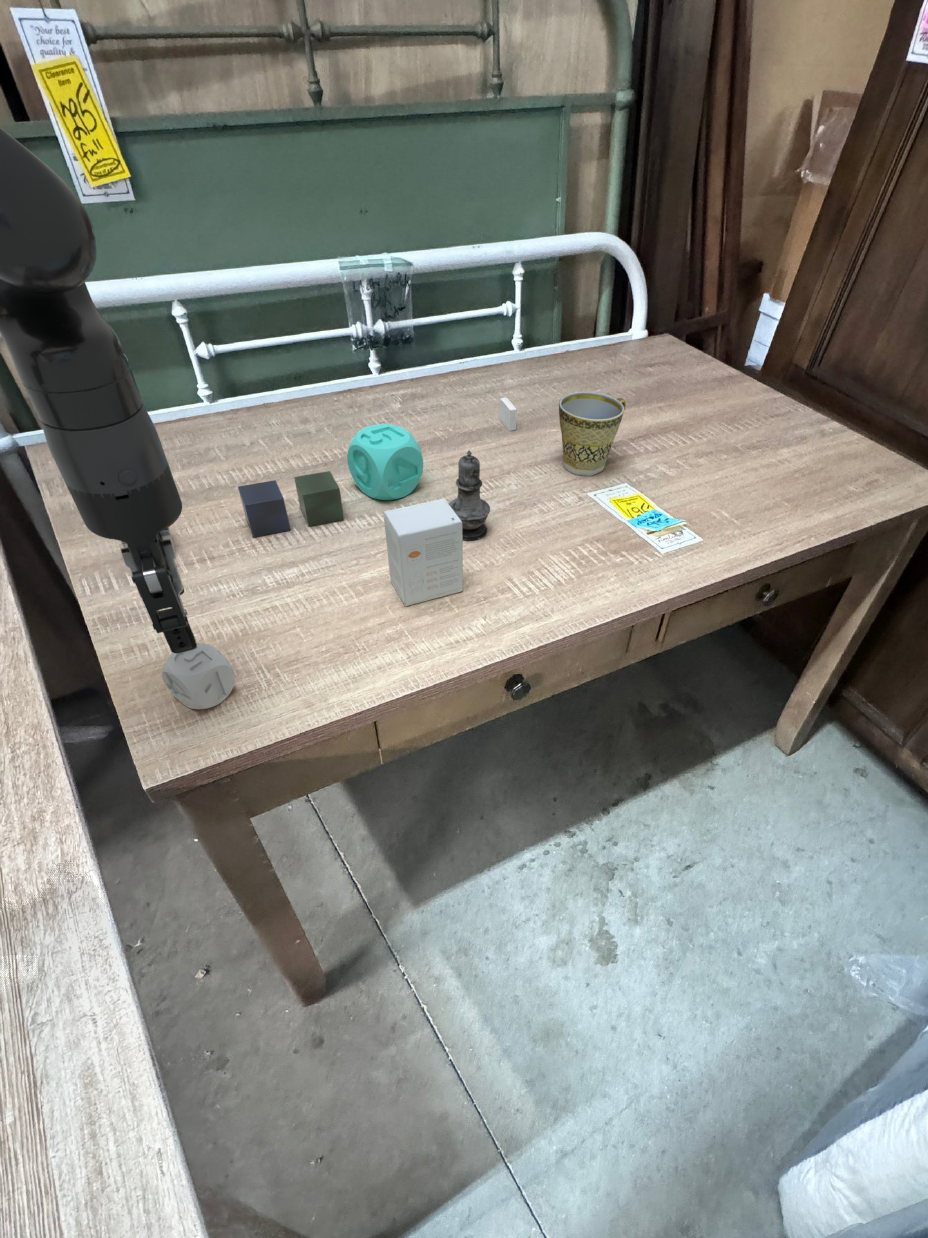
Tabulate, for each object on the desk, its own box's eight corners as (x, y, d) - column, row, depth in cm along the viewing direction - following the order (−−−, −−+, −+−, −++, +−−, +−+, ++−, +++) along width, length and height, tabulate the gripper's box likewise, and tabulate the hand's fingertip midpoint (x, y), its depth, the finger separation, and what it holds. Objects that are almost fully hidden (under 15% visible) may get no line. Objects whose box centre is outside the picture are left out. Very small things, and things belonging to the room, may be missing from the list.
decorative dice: (425, 487, 104) (423, 437, 98) (384, 506, 100) (379, 455, 94) (391, 467, 107) (387, 418, 101) (349, 485, 103) (343, 434, 97)
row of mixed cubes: (132, 561, 87) (118, 527, 84) (129, 540, 91) (115, 507, 87) (344, 519, 97) (339, 488, 93) (334, 502, 100) (329, 470, 96)
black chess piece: (458, 545, 94) (457, 465, 85) (441, 523, 97) (439, 443, 89) (496, 536, 96) (499, 456, 87) (478, 515, 99) (480, 436, 91)
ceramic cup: (583, 488, 106) (592, 426, 99) (540, 462, 111) (545, 401, 104) (638, 464, 113) (650, 404, 105) (595, 440, 118) (604, 381, 110)
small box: (447, 567, 90) (445, 496, 83) (464, 592, 87) (464, 520, 79) (389, 581, 88) (382, 509, 80) (404, 607, 84) (398, 535, 77)
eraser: (505, 417, 122) (506, 397, 119) (515, 430, 119) (517, 409, 116) (499, 418, 121) (499, 397, 119) (509, 431, 118) (510, 410, 116)
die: (203, 717, 71) (189, 683, 67) (170, 696, 72) (154, 662, 69) (240, 688, 74) (229, 654, 70) (208, 669, 75) (195, 635, 72)
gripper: (59, 432, 57) (130, 586, 69) (64, 522, 48) (144, 681, 60) (156, 418, 59) (208, 570, 71) (177, 501, 51) (232, 658, 63)
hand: (179, 620), depth 66 cm, fingers open, 8 cm apart
